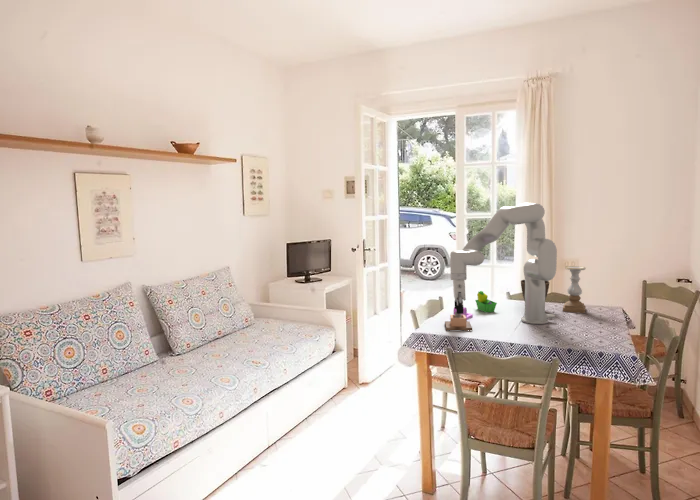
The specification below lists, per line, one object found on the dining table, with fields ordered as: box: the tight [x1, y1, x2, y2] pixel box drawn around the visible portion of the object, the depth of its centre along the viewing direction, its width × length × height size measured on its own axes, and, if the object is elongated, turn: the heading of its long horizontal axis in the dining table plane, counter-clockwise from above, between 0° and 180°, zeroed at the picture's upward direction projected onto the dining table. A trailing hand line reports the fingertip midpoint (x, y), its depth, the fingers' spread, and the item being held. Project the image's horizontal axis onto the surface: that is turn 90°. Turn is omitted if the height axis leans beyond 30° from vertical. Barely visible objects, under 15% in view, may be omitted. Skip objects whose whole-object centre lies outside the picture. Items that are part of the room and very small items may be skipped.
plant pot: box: [520, 279, 550, 302], centre depth 270 cm, size 15×15×16 cm
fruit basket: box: [475, 290, 498, 313], centre depth 271 cm, size 11×9×11 cm
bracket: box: [453, 306, 474, 321], centre depth 256 cm, size 13×6×7 cm, turn 142°
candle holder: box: [562, 265, 587, 314], centre depth 267 cm, size 11×11×24 cm
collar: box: [449, 314, 467, 327], centre depth 238 cm, size 7×7×4 cm
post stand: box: [444, 312, 473, 332], centre depth 238 cm, size 12×12×8 cm
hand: (458, 311), depth 238 cm, fingers open, 9 cm apart
